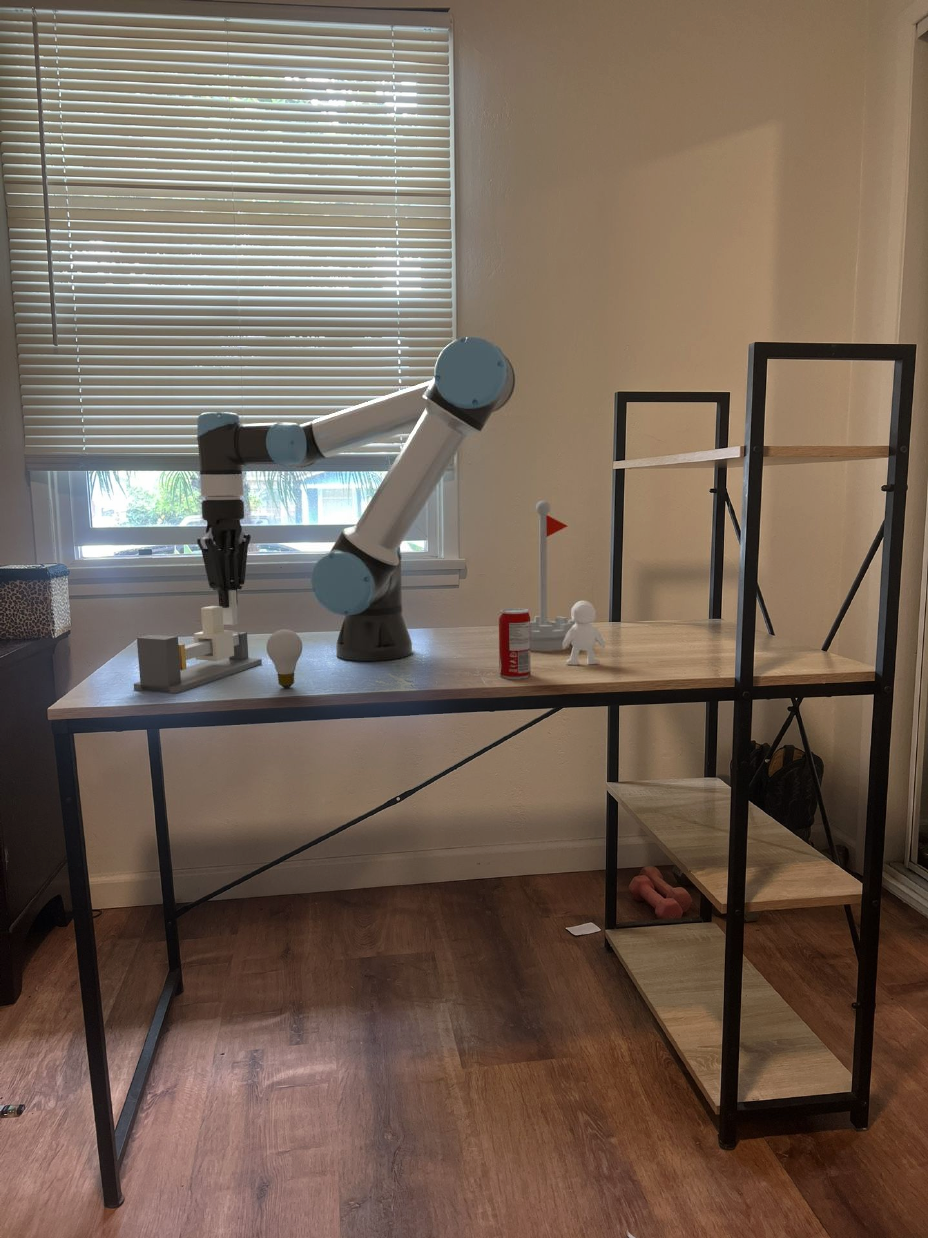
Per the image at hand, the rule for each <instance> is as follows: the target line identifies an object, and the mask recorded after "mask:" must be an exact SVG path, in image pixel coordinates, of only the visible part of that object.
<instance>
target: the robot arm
mask: <svg viewBox="0 0 928 1238" xmlns="http://www.w3.org/2000/svg"><path fill="white" fill-rule="evenodd" d="M515 388H516V374H515V370H514V367H513V365H512V363H511V362H510V360H509V358H507V357H506V355H505V354H504V352H503V351H502V350H501V348H499V347H498V346H497V345H495V343H494V342H491V341H489V340H487V339H486V338H481V337H478V336H464V337H460V338H458V339H455V340H453V341H452V342H450V343H448V345H446V346H445V347H444V348H443V349H442V350H441V351H440V353H439V355H438V357H437V360H436V362H435V365H434V372H433V378H432V379H431V380H429V381H426V382H423V383H419V384H417V385H414V386H410V387H407V388H406V389H405V388H404V389H401V390H399V391H396V392H393V393H390V394H387V395H384V396H381V397H379V398H375V399H372V400H369V401H368V402H367V401H366V402H364V403H360V404H358V405H354V406H352V407H349V408H346V409H342V410H340V411H337V412H335V413H331V414H328V415H325V416H323V417H320V418H317V419H314V420H311V421H307V422H305V423H301V424H298V423H296V422H285V421H276V422H263V423H261V422H260V423H242V422H241V421H240V416H239V415H238V413H234V412H228V411H227V412H226V411H221V412H220V411H219V412H217V411H216V412H214V411H212V412H209V411H208V412H203V413H200V414H199V415H198V417H197V420H196V421H197V436H196V441H197V449H198V459H199V460H198V461H199V475H200V496H201V497H202V498H204V500H203V499H202V501H201V514H202V515H201V516H202V517H201V518H202V519H203V520H204V521H206V527H205V533H206V534H205V535H204V536H203V537H197V540H196V542H197V545H198V548H199V549H200V552H201V554H202V559H203V563H204V568H205V573H206V578H207V581H208V585H209V588H210V589H212V590H213V591H217V592H218V593H217V594H218V606H222V608H223V624H224V625H227V626H235V625H238V624H239V622H238V621H239V620H238V601H239V600H238V599H239V598H238V590H242V589H243V586H244V584H245V581H246V572H247V571H246V569H247V560H248V559H247V558H248V550H249V545H250V542H251V538H252V537H251V535H250V534H249V533H248V534H246V533H244V531H242V530H243V528H242V523H241V520H243V519H244V518H245V505H244V503H245V502H244V501H243V499H241V497H243V496H244V495H245V494H244V480H243V479H244V478H243V466H245V467H247V466H279V467H295V468H301V469H302V468H307V467H310V466H313V465H315V464H316V463H318V462H319V461H321V460H324V459H327V458H329V457H332V456H335V455H339V454H342V453H344V452H349V451H352V450H354V449H358V448H360V447H364V446H367V445H369V444H372V443H373V444H374V443H377V442H380V441H382V440H386V439H389V438H392V437H395V436H397V435H400V434H404V433H408V432H410V431H411V432H410V434H409V435H408V437H407V439H406V441H405V442H404V444H403V446H402V448H401V449H400V451H399V453H398V454H397V456H396V457H395V459H394V461H393V463H392V465H391V466H390V468H389V469H388V471H387V473H386V474H385V476H384V477H383V480H382V481H381V483H380V485H379V486H378V488H377V489H376V491H375V493H374V495H373V496H372V497H371V499H370V501H369V503H368V505H367V506H366V508H365V510H364V511H363V513H362V514H361V516H360V518H359V519H358V521H357V523H356V524H355V525H354V526H349V527H345V528H343V530H342V531H341V533H340V535H339V536H338V538H337V539H336V541H335V542H334V545H333V546H332V548H331V549H330V551H329V552H326V553H325V554H324V555H323V556H321V557H320V558H319V559H318V560H317V562H316V563H315V564H314V566H313V569H312V571H311V576H310V585H311V586H310V587H311V589H312V593H313V596H314V598H315V599H316V601H317V602H318V603H319V604H320V606H321V607H322V608H323V609H325V610H326V611H328V612H330V613H332V614H334V615H339V616H343V620H342V623H341V627H340V629H339V630H340V631H339V635H338V638H337V641H336V645H335V646H336V656H337V657H338V658H340V659H342V660H348V661H358V662H359V661H360V662H364V661H365V662H373V661H374V662H375V661H389V660H395V659H397V660H398V659H400V658H405V657H408V656H410V655H411V654H412V653H413V642H412V639H411V636H410V632H409V630H408V627H407V625H406V623H405V622H406V621H405V618H404V616H403V591H402V585H403V584H402V558H403V557H402V554H401V544H402V543H403V541H404V539H405V538H406V537H407V534H408V533H409V532H410V530H411V528H412V527H413V525H414V523H415V522H416V520H417V519H418V517H419V516H420V514H421V512H422V511H423V509H424V507H425V506H426V504H427V502H428V501H429V499H430V497H431V496H432V494H433V492H434V491H435V489H436V488H437V486H438V484H439V483H440V481H441V480H442V478H443V476H444V474H445V473H446V472H447V470H448V468H449V466H450V465H451V464H452V462H453V460H454V458H455V457H456V455H457V454H458V452H459V450H460V449H461V447H462V446H463V444H464V442H465V441H466V439H467V438H468V437H469V436H472V435H476V434H480V433H481V431H482V430H483V428H484V426H485V425H486V423H487V422H488V421H489V418H490V417H491V415H492V414H494V413H495V412H497V411H499V410H500V409H502V408H503V407H505V405H506V404H507V403H508V402H509V401H510V400H511V398H512V396H513V394H514V392H515V391H514V390H515Z"/></svg>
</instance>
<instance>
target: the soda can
mask: <svg viewBox="0 0 928 1238" xmlns="http://www.w3.org/2000/svg"><path fill="white" fill-rule="evenodd" d="M529 612H530V611H529V609H526V608H521V607H515V608H514V607H513V608H510V607H509V608H502V609H500V613H499V618H498V652H499V653H498V654H499V655H498V657H499V659H498V660H499V661H498V664H499V666H498V670H499V675H500V676H501V677H502V678H504V679H508V680H522V679H521V678H523V679H527V678H528V677H529V676H530V675H531V651H530V622H531V616H530V613H529Z"/></svg>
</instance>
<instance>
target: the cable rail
mask: <svg viewBox="0 0 928 1238" xmlns="http://www.w3.org/2000/svg"><path fill="white" fill-rule="evenodd" d="M248 641H249V640H248V631H247V632H244V631H243V632H242V631H233V644H234V656H232V657H228V658H225V659H222V660H219V661H210V660H205V661H203V662H200V663H196V664H193V665H190V666H187V661H188V660H191V659H196V658H195V657H199V656H202V655H205V654H209V653H212V652H213V645H212V639H208V640H205V641H201V642H197V643H191V644H187V645H186V644H185V643H179V637H178V636H176V635H175V636H174V635H160V634H159V635H158V634H146V635H143V636H139V637H136V645H137V658H138V659H137V660H138V669H139V682H134V683H133V690H135V691H136V690H137V691H144V692H145V691H148V692H159V693H169V694H179V693H182V692H185V691H188V690H192V689H193V688H196V687H200V686H202V685H206V684H208V683H210V682H214V681H216V680H220V679H223V678H225V677H228V676H232V675H234V674H237V673H240V672H243V671H246V670H248V669H251V668H254V667H257V666H259V665H262V663H263V660H262V659H263V658H253V657H249V644H248Z"/></svg>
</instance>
